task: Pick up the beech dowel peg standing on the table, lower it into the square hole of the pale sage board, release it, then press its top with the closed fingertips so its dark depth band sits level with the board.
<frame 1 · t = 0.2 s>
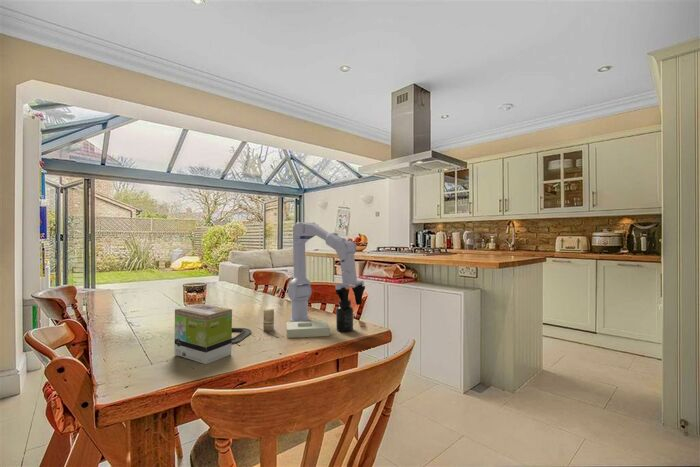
hand: (352, 306, 129), 11 cm above the table, tool pointing down, fingers open, 7 cm apart
supplement bottle: (344, 330, 133), on the table
c clamp: (223, 339, 122), on the table
board: (307, 332, 129), on the table
peg: (268, 330, 132), on the table
tea box: (203, 356, 103), on the table
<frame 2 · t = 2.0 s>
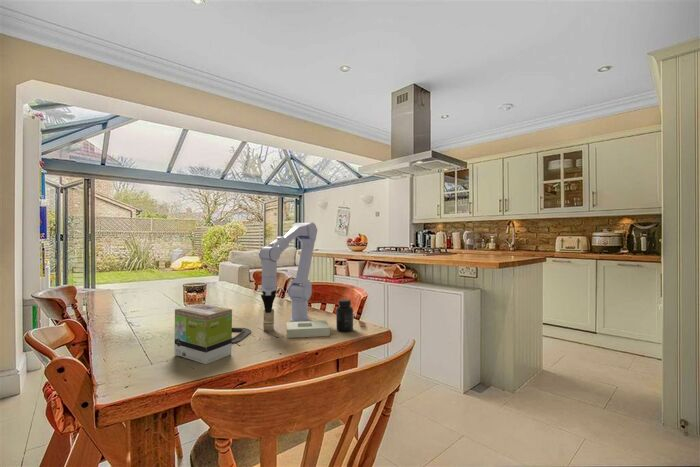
hand: (268, 310, 132), 8 cm above the table, tool pointing down, fingers open, 7 cm apart
nothing on the table moved.
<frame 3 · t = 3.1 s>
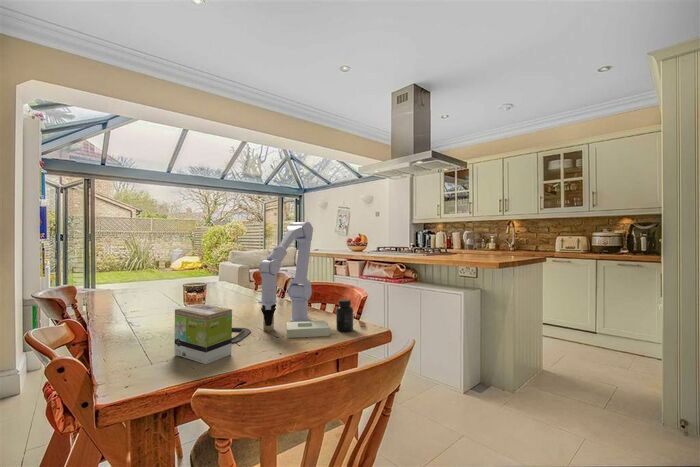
hand: (268, 324, 132), 2 cm above the table, tool pointing down, fingers closed on peg, 4 cm apart
peg: (268, 330, 132), on the table, touching gripper
everything else where it was.
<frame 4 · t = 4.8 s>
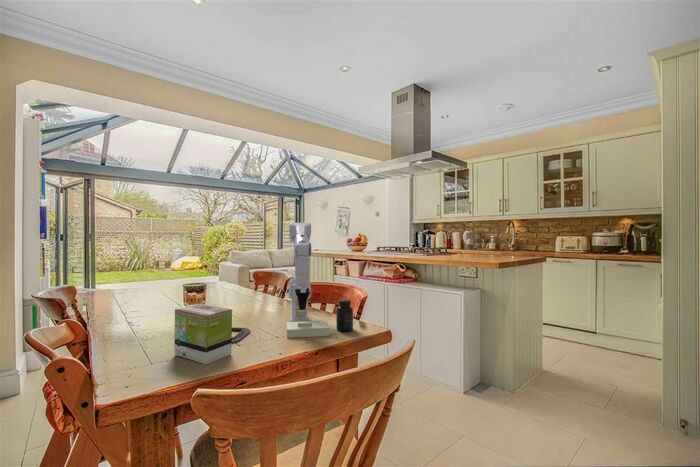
hand: (302, 308, 129), 9 cm above the table, tool pointing down, fingers closed on peg, 4 cm apart
peg: (300, 315, 129), point 7 cm above the table, touching gripper
everything else where it was.
when the fingers open (4 cm above the table, at t = 6.8 s): peg stays where it is, resting in board.
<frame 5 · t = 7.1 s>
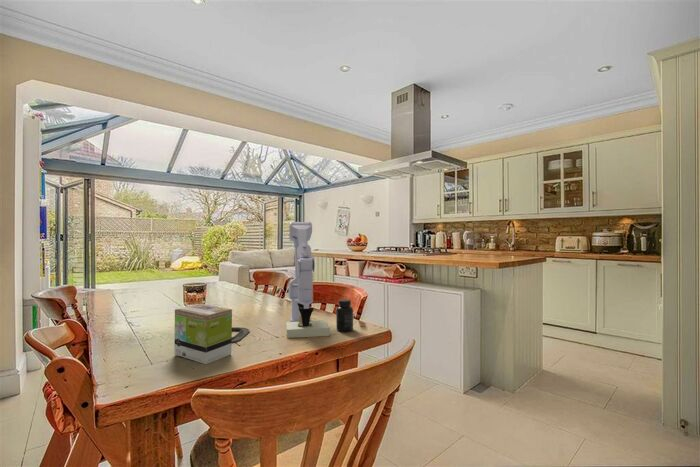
hand: (305, 323, 129), 4 cm above the table, tool pointing down, fingers open, 7 cm apart
peg: (303, 332, 129), resting in board
everything else where it was.
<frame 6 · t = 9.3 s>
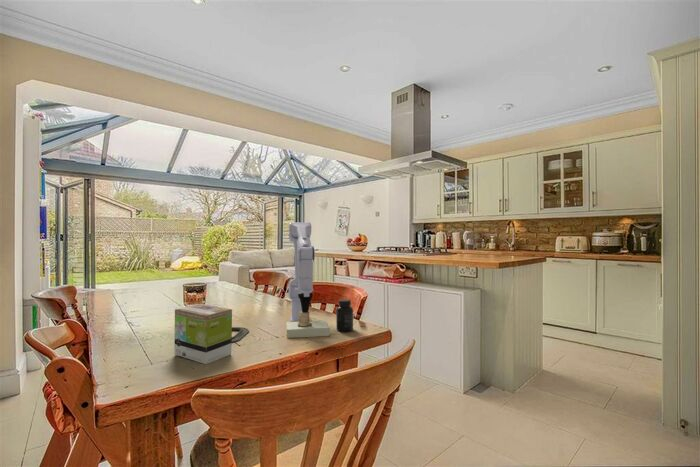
hand: (305, 312, 129), 8 cm above the table, tool pointing down, fingers closed, pressing on peg
peg: (303, 332, 129), resting in board, touching gripper
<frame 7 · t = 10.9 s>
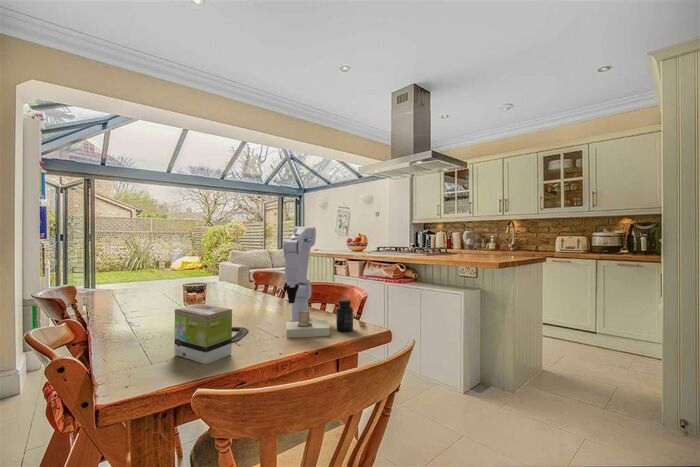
hand: (291, 302, 134), 10 cm above the table, tool pointing down, fingers closed
peg: (303, 332, 129), resting in board
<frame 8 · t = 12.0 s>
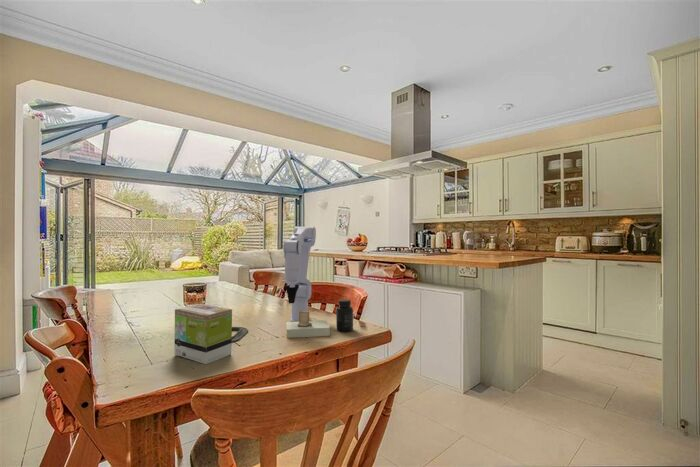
hand: (291, 302, 134), 10 cm above the table, tool pointing down, fingers closed
at the end: peg 0.4 cm from the target spot on the board, point 0.0 cm above the board's base; peg tilted 0°; the gripper is holding nothing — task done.
